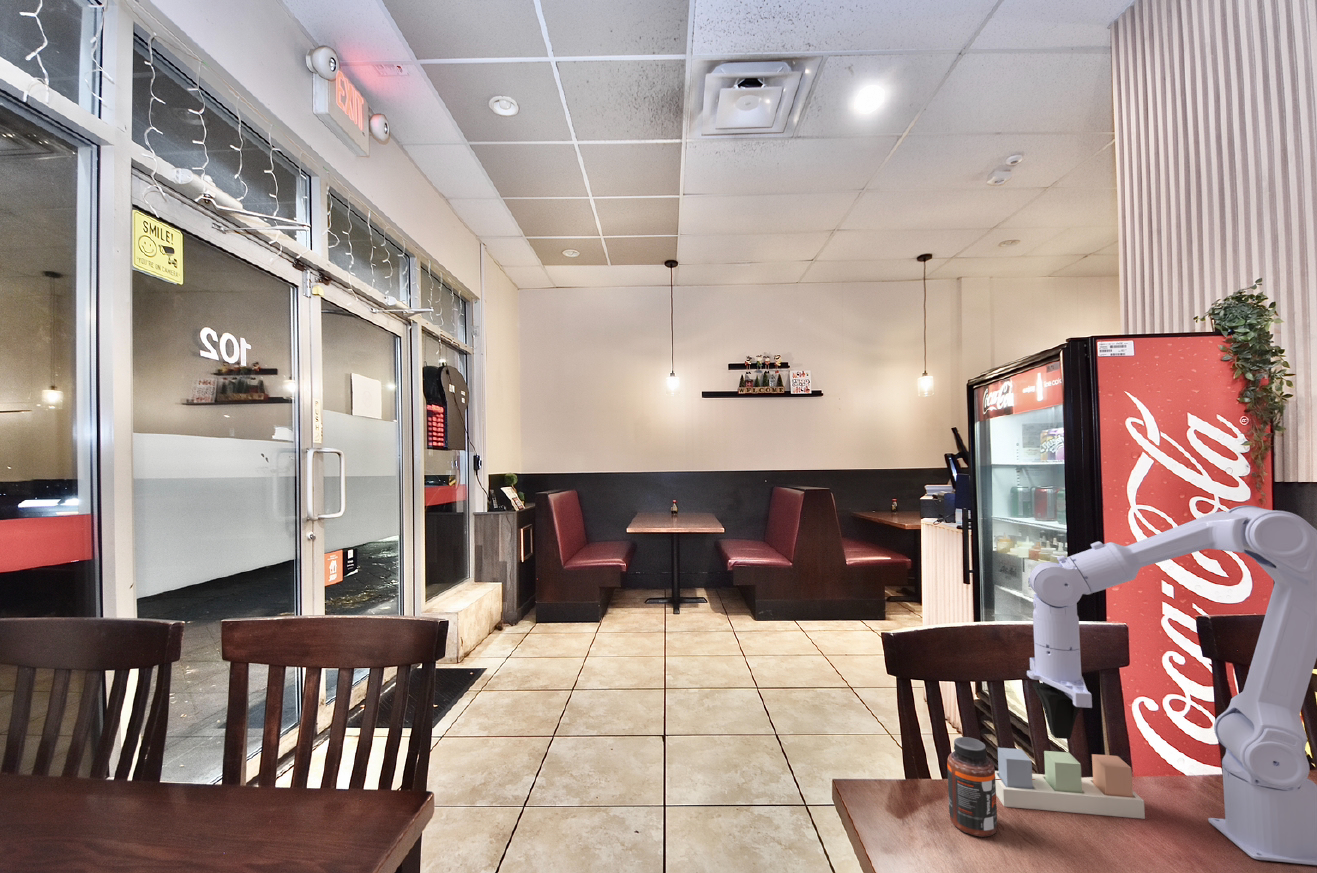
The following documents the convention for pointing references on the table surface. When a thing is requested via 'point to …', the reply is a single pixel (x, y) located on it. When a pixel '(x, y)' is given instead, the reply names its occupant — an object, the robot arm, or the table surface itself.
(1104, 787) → the button terracotta
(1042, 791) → the button bar
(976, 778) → the supplement bottle
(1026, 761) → the button slate
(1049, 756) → the button green
